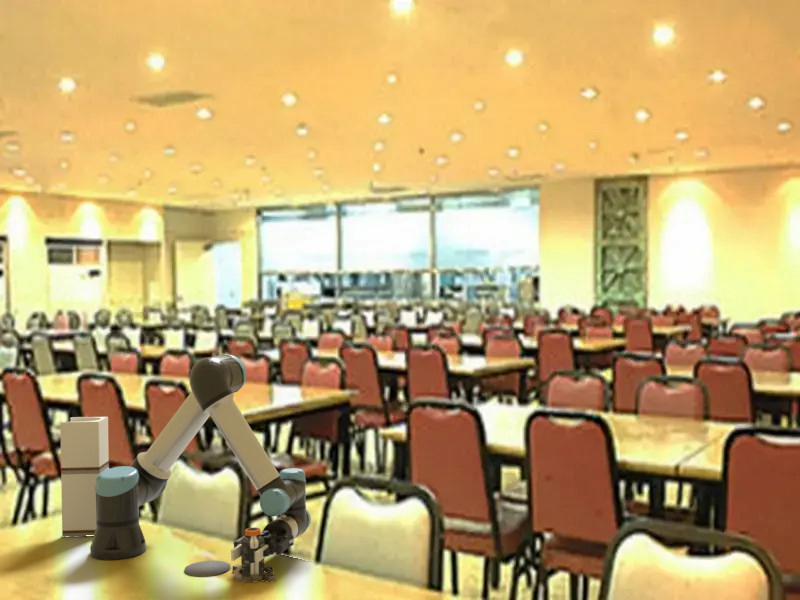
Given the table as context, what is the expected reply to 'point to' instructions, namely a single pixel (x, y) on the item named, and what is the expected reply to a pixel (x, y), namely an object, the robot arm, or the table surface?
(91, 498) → the beige tall box
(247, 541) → the pill bottle
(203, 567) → the coaster
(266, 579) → the collar
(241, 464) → the robot arm
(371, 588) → the table surface
